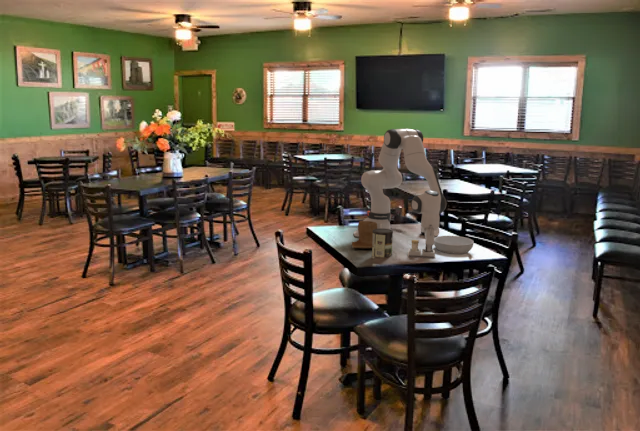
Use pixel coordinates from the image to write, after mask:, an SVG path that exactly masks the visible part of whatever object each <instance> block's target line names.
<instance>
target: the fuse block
mask: <svg viewBox="0 0 640 431" xmlns="http://www.w3.org/2000/svg"><path fill="white" fill-rule="evenodd" d="M411 250H412V247H411V248H409V247H408V251H407V258H419V259H431V260H432V259H434V260H436V258H437V257H436V251H435V249H432V252H425V250H426V249H425V248H422V250H421V248H418V251H411Z"/></svg>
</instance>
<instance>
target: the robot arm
mask: <svg viewBox="0 0 640 431" xmlns="http://www.w3.org/2000/svg"><path fill="white" fill-rule="evenodd" d="M383 135H384V136H383V143H382V146H381V149H380V151H379V155H378V163H379V165H380V166H381V167H383V168H382V169H376V170H375V169H372V170H367V171H364V172H363V173H362V175H361V178H360V182H361V185H362V186H363V188H364V189H365V190H367V192H368V193H369V196H370V201H371V202H370V204H371V206H370V210H367V217H366V218H365V219H363V220H362V221H372V222H376V223H377V229H390V230H391V223H390V222H391V218H392V217H391V216H392V215H391V199H390V197H389V196H388V195H386V194H384V189H387V190H388V189H395V188H398V187H400V186H401V184H402V182H403V175H402V172H400V171H399V169H398V163H399V160H400V155H401V153H402V150H403V159H404V164H405V167H406V168H407V170H408V171H409V172H411V173H413V174H415V175H418V176H421V177H422V178H424V179H426V182H427V183H428V187H429V189H428V190H425V191H424V192H423V193H421V194H417V195H414V197H413V198H412V199H411V202H410V207H411V209H412V211H413V212H414V213H415V214H419V215H420V214H421V221H420V227H421V226H422V227H424V230H425V235H424V238H425V245H426V244H427V251H431V245H432V246H434V238H435V236H434V231H436V228H439V227H440V215H441V214H442V213H443V212H444V211H445V210H446V208H447V204H448V202H447V199H446V197H445V196H444V193H443V190H442V187H441V184H440V183H439V182H440V181H439V179H438V176H437V173H436V170H435V168H434V166H433V165H431V164H430V162H429V161H428V159H427V157H426V151H425V147H424V134H423V132H422V131H421V130H419V129H416V128H415V129H412V128H396V129H395V128H390V129H388V130H386V131H385V133H384V134H383ZM353 236H354V237H357V238H359V232H358V228H357V230H354V232H353Z"/></svg>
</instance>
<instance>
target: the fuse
mask: <svg viewBox="0 0 640 431" xmlns="http://www.w3.org/2000/svg"><path fill="white" fill-rule="evenodd" d="M419 242H420V240H418V239H411V248H412V250H411V251H418V249H419Z"/></svg>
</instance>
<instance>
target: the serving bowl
mask: <svg viewBox="0 0 640 431" xmlns="http://www.w3.org/2000/svg"><path fill="white" fill-rule="evenodd" d="M474 244H475V243H474V239H471V238H469V237H464V236H459V235H440V236H439V235H438V236H434V245H433V246H434V247H435V249H437V251H440V252H442V253H445V254H454V255H457V254H458V255H460V254H467V253H469V251H471V250H472V248H473V247H474Z"/></svg>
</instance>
